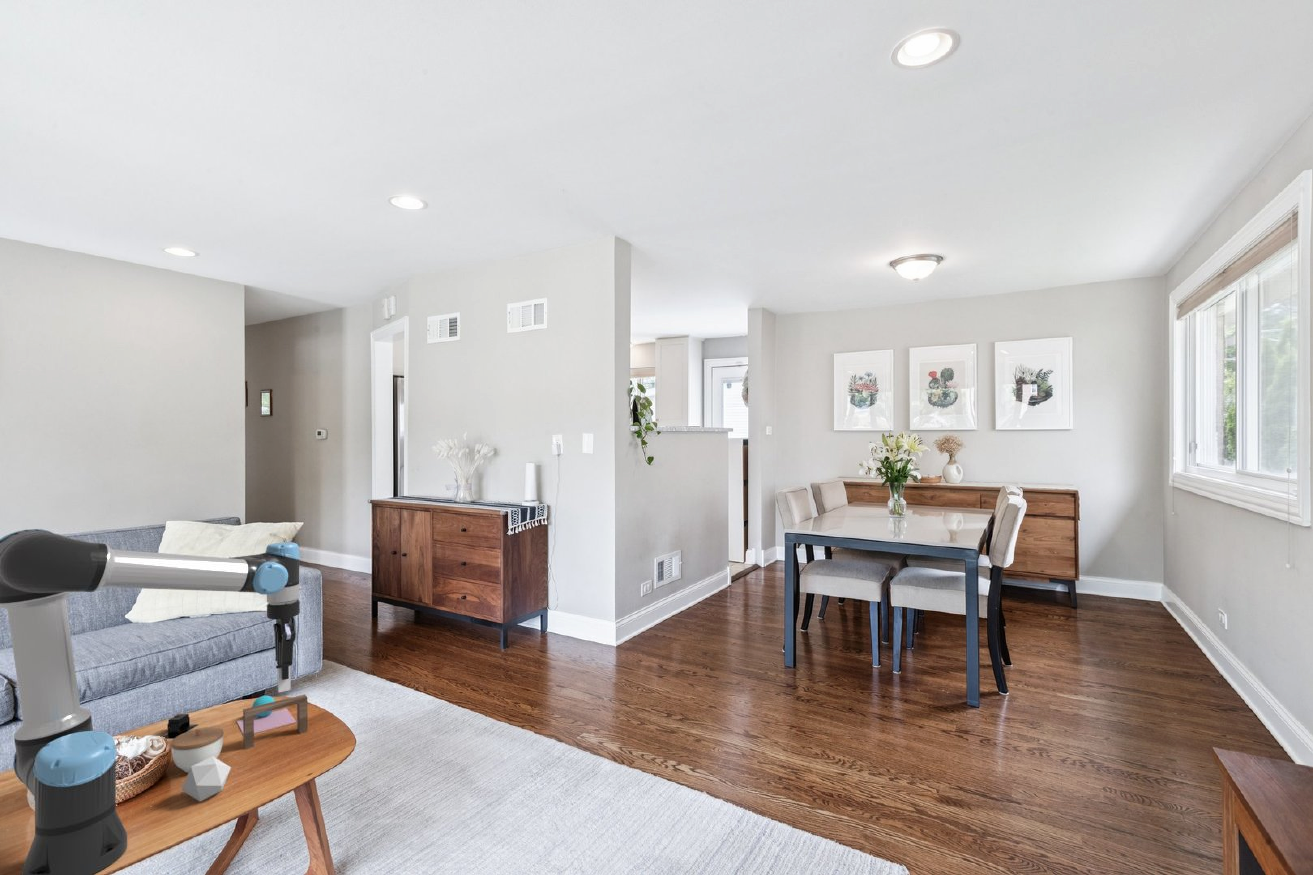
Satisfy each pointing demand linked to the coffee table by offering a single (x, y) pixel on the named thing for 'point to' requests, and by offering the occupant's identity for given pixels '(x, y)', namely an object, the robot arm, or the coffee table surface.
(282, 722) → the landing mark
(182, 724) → the black block on base
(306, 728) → the bridge
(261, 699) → the ball
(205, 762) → the die
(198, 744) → the lidded jar
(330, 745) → the coffee table surface
